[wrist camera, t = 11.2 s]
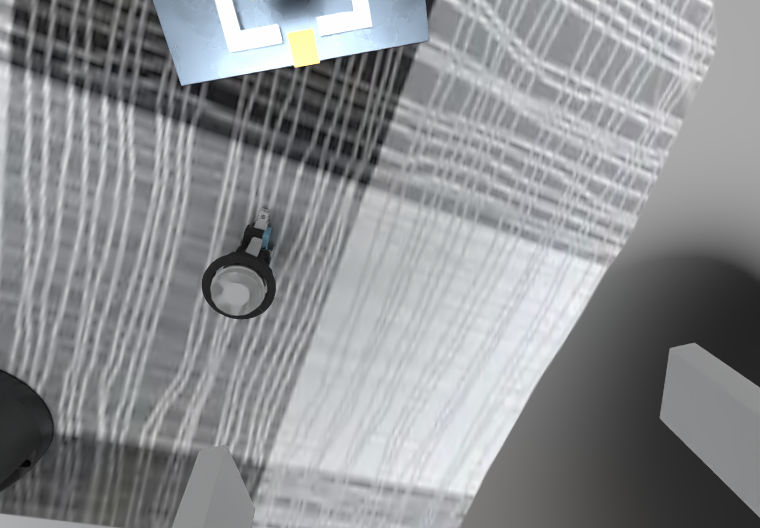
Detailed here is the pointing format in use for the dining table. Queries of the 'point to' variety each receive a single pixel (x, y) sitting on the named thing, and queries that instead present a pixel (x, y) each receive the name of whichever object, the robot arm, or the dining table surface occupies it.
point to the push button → (243, 275)
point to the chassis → (281, 33)
